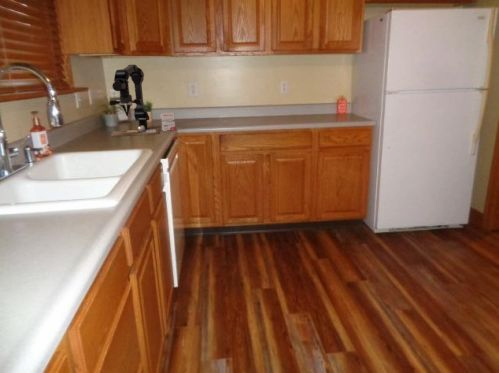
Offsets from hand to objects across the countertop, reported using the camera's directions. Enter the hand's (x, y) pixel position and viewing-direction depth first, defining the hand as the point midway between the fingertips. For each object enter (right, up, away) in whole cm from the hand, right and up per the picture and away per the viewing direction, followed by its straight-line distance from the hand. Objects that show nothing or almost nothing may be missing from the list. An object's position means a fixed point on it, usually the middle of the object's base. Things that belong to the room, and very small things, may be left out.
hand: (127, 116), depth 240 cm
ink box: (+23, -7, +16) cm, 29 cm away
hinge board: (+4, -11, +4) cm, 12 cm away
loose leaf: (+4, -10, +4) cm, 11 cm away
